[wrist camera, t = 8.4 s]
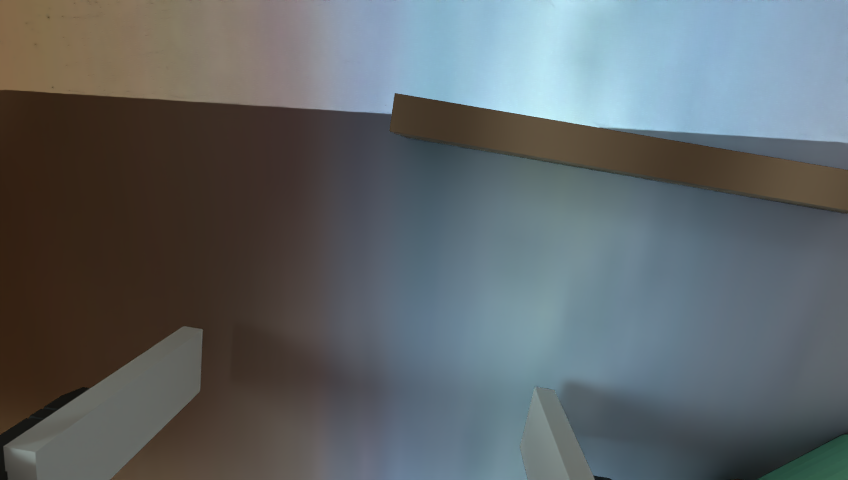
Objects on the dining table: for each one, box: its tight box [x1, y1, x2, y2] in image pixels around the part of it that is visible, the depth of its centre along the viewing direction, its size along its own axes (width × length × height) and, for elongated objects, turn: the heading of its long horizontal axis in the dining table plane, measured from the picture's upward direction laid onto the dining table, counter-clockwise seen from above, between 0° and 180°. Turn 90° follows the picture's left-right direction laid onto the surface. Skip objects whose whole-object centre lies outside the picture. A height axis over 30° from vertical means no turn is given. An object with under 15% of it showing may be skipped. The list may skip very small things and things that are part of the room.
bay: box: [389, 93, 848, 214], centre depth 15 cm, size 16×22×4 cm
